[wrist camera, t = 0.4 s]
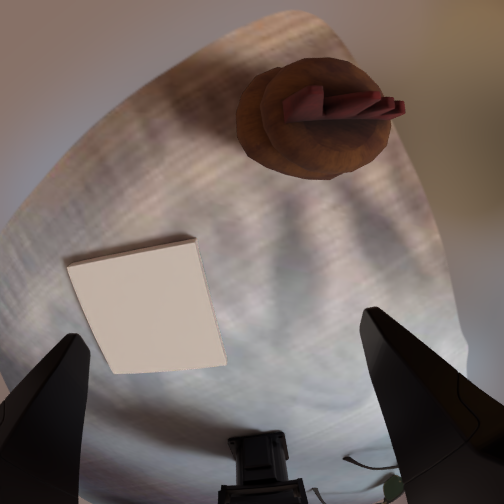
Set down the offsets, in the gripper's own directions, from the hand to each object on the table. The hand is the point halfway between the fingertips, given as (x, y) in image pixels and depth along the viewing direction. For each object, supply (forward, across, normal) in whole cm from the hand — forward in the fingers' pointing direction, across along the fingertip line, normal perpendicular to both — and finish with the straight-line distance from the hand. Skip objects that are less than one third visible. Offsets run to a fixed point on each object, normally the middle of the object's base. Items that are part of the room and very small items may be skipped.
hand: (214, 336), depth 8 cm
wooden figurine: (+15, -5, -3) cm, 16 cm away
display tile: (+11, +7, +10) cm, 17 cm away
